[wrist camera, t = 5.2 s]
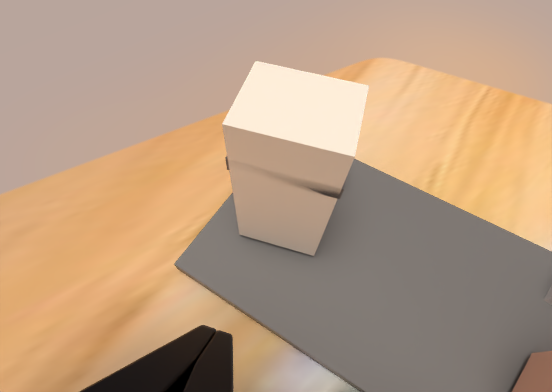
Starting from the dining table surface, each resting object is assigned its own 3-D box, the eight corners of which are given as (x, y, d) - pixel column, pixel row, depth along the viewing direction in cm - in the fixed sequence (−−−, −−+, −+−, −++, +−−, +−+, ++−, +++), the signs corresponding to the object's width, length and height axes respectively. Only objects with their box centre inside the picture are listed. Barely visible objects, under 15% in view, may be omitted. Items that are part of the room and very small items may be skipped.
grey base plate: (653, 586, 13) (834, 682, 9) (177, 268, 20) (154, 238, 16) (642, 305, 20) (745, 285, 16) (285, 134, 26) (290, 87, 22)
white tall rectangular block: (315, 256, 19) (357, 157, 11) (238, 233, 20) (219, 123, 11) (327, 204, 21) (371, 86, 13) (257, 185, 22) (253, 60, 13)
